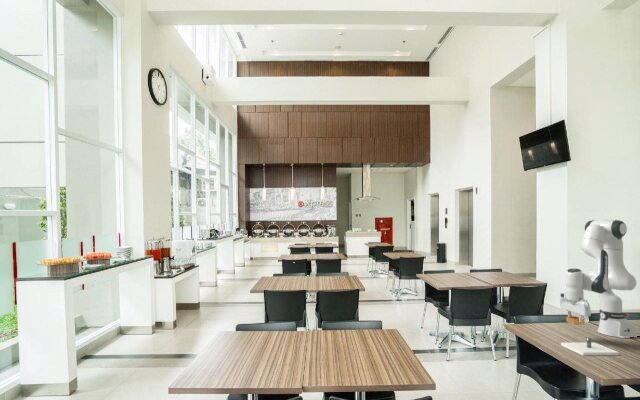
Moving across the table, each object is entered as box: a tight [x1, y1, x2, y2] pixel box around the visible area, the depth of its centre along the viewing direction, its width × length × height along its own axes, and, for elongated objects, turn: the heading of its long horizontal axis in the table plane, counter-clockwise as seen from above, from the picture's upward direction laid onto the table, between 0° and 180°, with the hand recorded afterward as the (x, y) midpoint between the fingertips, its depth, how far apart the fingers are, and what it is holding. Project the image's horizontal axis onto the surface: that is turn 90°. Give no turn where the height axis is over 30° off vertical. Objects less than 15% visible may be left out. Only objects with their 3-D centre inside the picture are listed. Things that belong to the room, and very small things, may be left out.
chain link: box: [565, 315, 586, 326], centre depth 227 cm, size 6×6×3 cm
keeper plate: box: [560, 337, 620, 357], centre depth 208 cm, size 20×16×6 cm
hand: (575, 320), depth 227 cm, fingers closed on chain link, 6 cm apart
